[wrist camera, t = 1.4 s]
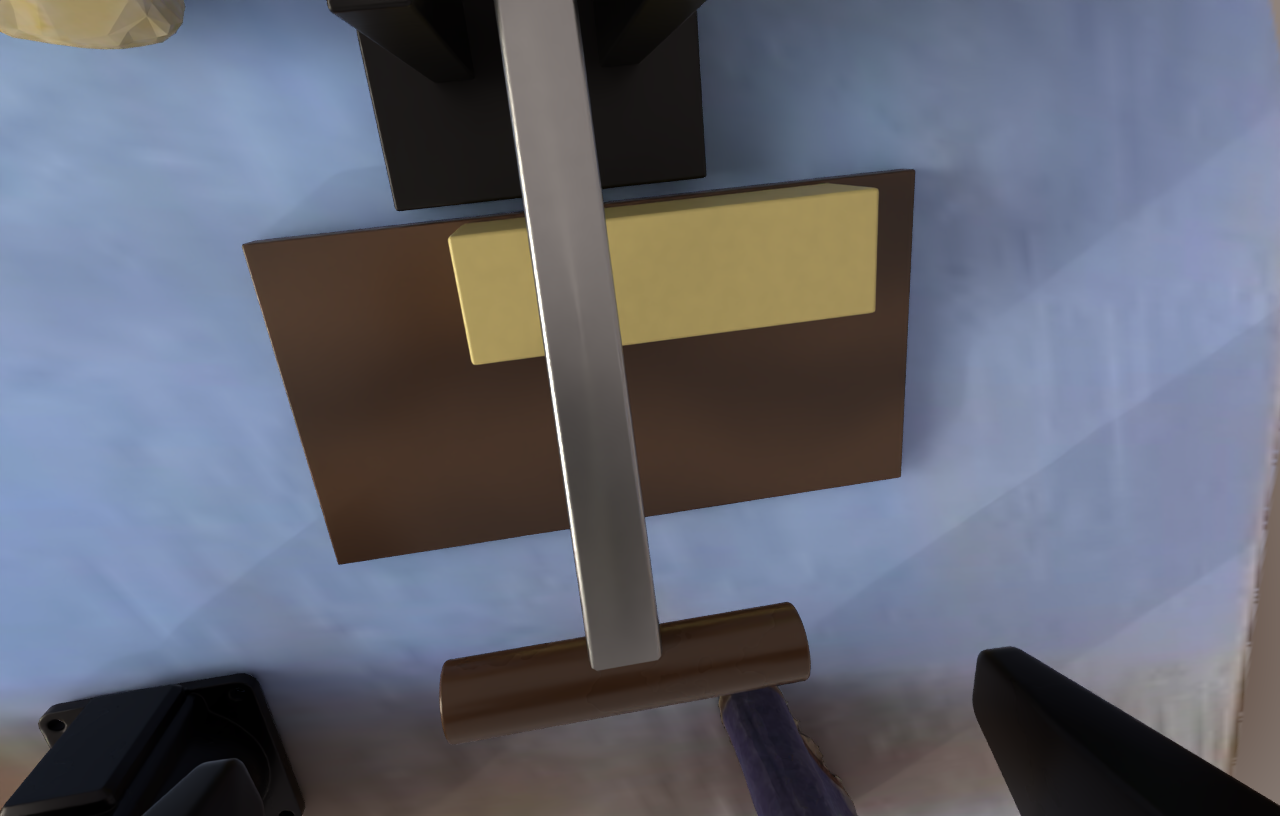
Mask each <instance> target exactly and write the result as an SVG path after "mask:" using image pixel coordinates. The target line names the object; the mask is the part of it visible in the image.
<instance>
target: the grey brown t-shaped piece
mask: <svg viewBox="0 0 1280 816" xmlns="http://www.w3.org/2000/svg"><path fill="white" fill-rule="evenodd" d="M494 6H495V13H496V19H497V26H498V33H499V40H500V47H501V54H502V61H503V68H504V75H505V82H506V89H507V96H508V103H509V110H510V116H511V123H512V130H513V137H514V144H515V151H516V158H517V165H518V172H519V179H520V186H521V193H522V200H523V207H524V213H525V220H526V227H527V234H528V241H529V248H530V255H531V262H532V269H533V276H534V283H535V290H536V297H537V304H538V311H539V317H540V324H541V331H542V338H543V345H544V352H545V359H546V366H547V373H548V380H549V387H550V394H551V401H552V408H553V414H554V421H555V428H556V435H557V442H558V449H559V456H560V463H561V470H562V477H563V484H564V491H565V498H566V505H567V512H568V518H569V525H570V532H571V539H572V546H573V553H574V560H575V567H576V574H577V581H578V588H579V595H580V602H581V609H582V615H583V622H584V629H585V637H579V638H573V639H567V640H561V641H556V642H550V643H544V644H538V645H532V646H526V647H520V648H515V649H509V650H503V651H497V652H491V653H485V654H480V655H474V656H468V657H462V658H456V659H450V660H448V661H446V662H445V663H444V665H443V667H442V671H441V676H440V687H439V701H440V714H441V721H442V726H443V731H444V734H445V737H446V739H447V741H448V743H449V744H452V745H456V744H462V743H467V742H473V741H478V740H483V739H489V738H494V737H500V736H505V735H511V734H516V733H522V732H527V731H533V730H538V729H544V728H549V727H555V726H560V725H565V724H571V723H576V722H582V721H587V720H593V719H598V718H604V717H609V716H615V715H620V714H626V713H631V712H637V711H642V710H647V709H653V708H658V707H664V706H669V705H675V704H680V703H686V702H691V701H697V700H702V699H708V698H713V697H719V696H724V695H729V694H735V693H740V692H746V691H751V690H757V689H762V688H768V687H773V686H779V685H784V684H790V683H795V682H801V681H805V680H807V679H808V678H809V676H810V669H811V660H810V651H809V645H808V640H807V636H806V632H805V629H804V626H803V623H802V621H801V618H800V616H799V614H798V612H797V610H796V609H795V607H794V606H793V605H792V604H791V603H789V602H783V603H777V604H772V605H766V606H760V607H754V608H748V609H742V610H737V611H731V612H725V613H719V614H713V615H707V616H702V617H696V618H690V619H684V620H678V621H672V622H666V623H661V624H659V621H658V613H657V605H656V598H655V590H654V583H653V575H652V568H651V560H650V552H649V545H648V537H647V530H646V522H645V514H644V507H643V499H642V492H641V484H640V476H639V469H638V461H637V454H636V446H635V439H634V431H633V423H632V416H631V408H630V401H629V393H628V385H627V378H626V370H625V363H624V355H623V347H622V340H621V332H620V325H619V317H618V310H617V302H616V294H615V287H614V279H613V272H612V264H611V256H610V249H609V241H608V234H607V226H606V218H605V211H604V203H603V196H602V188H601V181H600V173H599V165H598V158H597V150H596V143H595V135H594V127H593V120H592V112H591V105H590V97H589V89H588V82H587V74H586V67H585V59H584V52H583V44H582V36H581V29H580V21H579V14H578V6H577V0H494Z"/></svg>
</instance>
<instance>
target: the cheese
mask: <svg viewBox="0 0 1280 816" xmlns="http://www.w3.org/2000/svg"><path fill="white" fill-rule="evenodd" d="M185 9H186V7H185V3H184V0H0V32H2V33H4V34H7V35H9V36H11V37H14V38H20V39H26V40H32V41H39V42H45V43H51V44H58V45H65V46H73V47H81V48H92V49H126V48H133V47H140V46H146V45H151V44H156V43H161V42H164V41H165V40H167V39H168V38H169V37H171V36H172V35H173V34H175V33H176V31H177V30H178V28H179V27H180V26H181V24H182V23H183V16H184V11H185Z"/></svg>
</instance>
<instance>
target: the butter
mask: <svg viewBox="0 0 1280 816" xmlns="http://www.w3.org/2000/svg"><path fill="white" fill-rule="evenodd" d="M878 201H879V191H878V189H877V188H872V187H862V186H852V185H841V184H831V183H825V184H816V185H807V186H798V187H789V188H780V189H771V190H762V191H753V192H744V193H736V194H727V195H718V196H709V197H700V198H691V199H682V200H673V201H664V202H655V203H646V204H637V205H628V206H620V207H611V208H604V211H605V218H606V226H607V234H608V241H609V249H610V256H611V264H612V272H613V279H614V287H615V294H616V302H617V310H618V317H619V325H620V332H621V340H622V346H624V345H632V344H639V343H647V342H654V341H662V340H670V339H677V338H685V337H692V336H700V335H708V334H715V333H723V332H730V331H738V330H746V329H753V328H761V327H768V326H776V325H784V324H791V323H799V322H806V321H814V320H822V319H829V318H837V317H844V316H852V315H860V314H867V313H873V312H875V304H876V270H877V235H878ZM448 244H449V249H450V254H451V259H452V264H453V269H454V274H455V279H456V285H457V290H458V295H459V300H460V305H461V310H462V315H463V320H464V326H465V331H466V336H467V341H468V346H469V351H470V356H471V362H472V363H473V364H474V365H480V364H487V363H495V362H502V361H510V360H518V359H525V358H533V357H540V356H545V352H544V345H543V338H542V331H541V324H540V317H539V311H538V304H537V297H536V290H535V283H534V276H533V269H532V262H531V255H530V248H529V241H528V234H527V227H526V220H525V217H521V218H513V219H504V220H495V221H486V222H477V223H468V224H464V225H462V226H461V227H460V228H459V229H457V230H456V231H455V232H454V233H453V234H452V235H451V236H450V237H449V238H448Z"/></svg>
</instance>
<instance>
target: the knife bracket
mask: <svg viewBox="0 0 1280 816" xmlns="http://www.w3.org/2000/svg"><path fill="white" fill-rule="evenodd" d="M326 1H327V5H328V8H329V10H330V12H332V13H333V14H335V15H336V16H338V17H339V18H341V19H342V20H343V21H345V22H346V23H348V24H349V25H351V26H352V27H354V28H355V29H356V32H357V36H358V41H359V45H360V50H361V55H362V59H363V64H364V68H365V73H366V77H367V82H368V87H369V91H370V96H371V100H372V105H373V109H374V114H375V119H376V123H377V128H378V132H379V137H380V141H381V146H382V151H383V155H384V160H385V164H386V169H387V173H388V178H389V183H390V187H391V192H392V196H393V201H394V205H395V209H396V210H397V211H405V210H414V209H423V208H432V207H442V206H451V205H460V204H469V203H478V202H487V201H496V200H506V199H515V198H522V193H521V186H520V179H519V172H518V165H517V158H516V151H515V144H514V137H513V130H512V123H511V116H510V110H509V103H508V96H507V89H506V82H505V75H504V68H503V61H502V54H501V47H500V40H499V33H498V26H497V19H496V13H495V6H494V0H326ZM706 1H707V0H577V6H578V14H579V21H580V29H581V36H582V44H583V52H584V59H585V67H586V74H587V82H588V89H589V97H590V105H591V112H592V120H593V127H594V135H595V143H596V150H597V158H598V165H599V173H600V181H601V188H602V189H606V188H615V187H624V186H634V185H643V184H652V183H661V182H670V181H679V180H688V179H697V178H704V177H706V159H705V142H704V125H703V107H702V90H701V73H700V56H699V39H698V21H697V9H698V8H699V7H700V6H701V5H703V4H704V3H705V2H706Z"/></svg>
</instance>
